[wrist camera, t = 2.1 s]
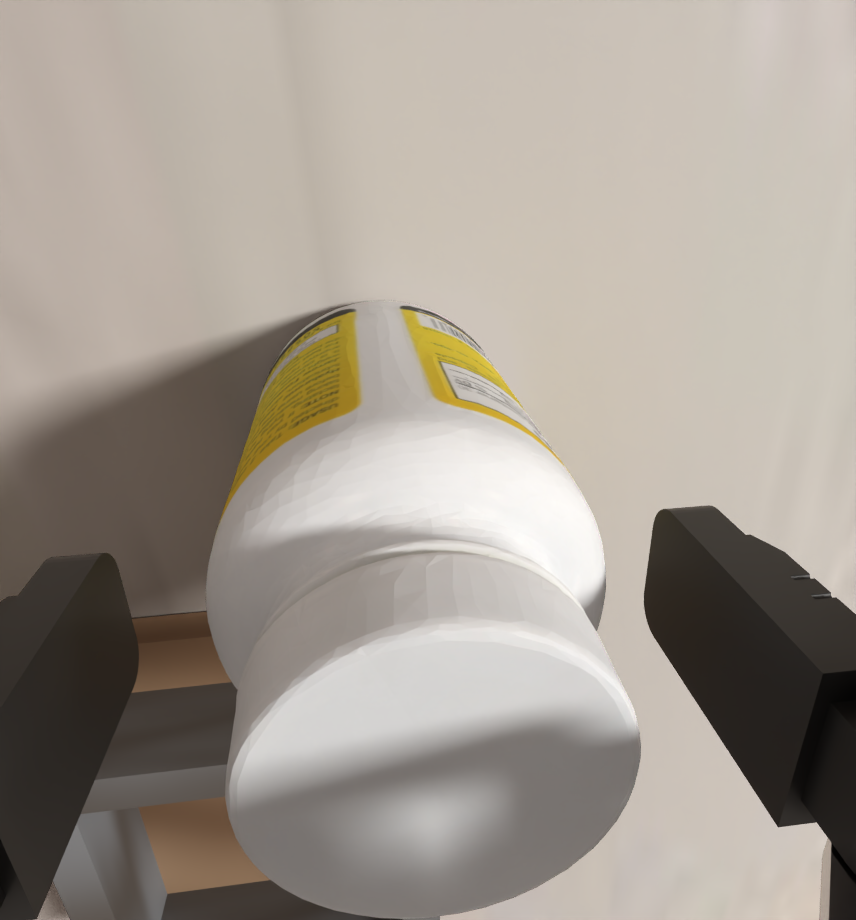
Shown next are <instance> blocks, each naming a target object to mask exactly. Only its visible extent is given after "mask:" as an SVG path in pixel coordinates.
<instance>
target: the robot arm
mask: <svg viewBox="0 0 856 920" xmlns="http://www.w3.org/2000/svg"><path fill="white" fill-rule="evenodd" d="M644 608H645V614H646V619H647V622H648V625H649V628H650V630H651V632H652V634H653V636H654V638H655V639H656V641H657V642H658V644H659V645H660V647H661V648H662V650H663V652H664V653H665V655H666V656H667V658H668V659H669V661H670V662H671V664H672V665H673V667H674V668H675V670H676V671H677V673H678V675H679V676H680V678H681V679H682V681H683V682H684V684H685V685H686V687H687V688H688V690H689V691H690V693H691V694H692V696H693V697H694V699H695V701H696V702H697V704H698V705H699V707H700V708H701V710H702V711H703V713H704V714H705V716H706V717H707V719H708V720H709V722H710V724H711V725H712V727H713V728H714V730H715V731H716V733H717V734H718V736H719V737H720V739H721V740H722V742H723V743H724V745H725V747H726V748H727V750H728V751H729V753H730V754H731V756H732V757H733V759H734V760H735V762H736V763H737V765H738V766H739V768H740V770H741V771H742V773H743V774H744V776H745V777H746V779H747V780H748V782H749V783H750V785H751V786H752V788H753V789H754V791H755V792H756V794H757V796H758V797H759V799H760V800H761V802H762V803H763V805H764V806H765V808H766V809H767V811H768V812H769V814H770V815H771V817H772V819H773V820H774V822H775V823H776V825H777V826H778V827H784V826H791V825H799V824H807V823H815V822H817V823H818V825H819V826H820V827H821V829H822V830H823V832H824V833H825V834H826V836H827V837H828V839H827V842H826V845H825V848H824V851H823V856H822V871H821V893H820V915H819V920H856V614H855V613H853V612H852V611H851V610H850V609H849V608H848V607H847V606H845V605H844V604H843V603H842V602H841V601H840V600H839V599H837V598H832V597H831V592H829V591H828V590H827V589H826V588H825V587H824V586H823V585H822V584H820V583H819V582H818V581H817V580H816V579H810V574H809V573H808V572H807V571H806V570H804V569H803V568H802V567H801V566H800V565H799V564H798V563H796V562H795V561H794V560H793V559H792V558H791V557H790V556H788V555H787V554H786V553H785V552H783V551H781V550H779V549H777V548H776V547H774V546H772V545H770V544H768V543H766V542H764V541H762V540H760V539H758V538H756V537H754V536H752V535H745V534H744V533H743V532H742V531H741V530H740V529H739V528H737V527H736V526H735V525H734V524H733V523H732V522H731V521H730V520H729V519H728V518H727V517H725V516H724V515H723V514H722V513H721V512H720V511H719V510H718V509H716V508H715V507H713V506H697V507H685V508H673V509H663V510H661V511H659V512H658V514H657V515H656V517H655V520H654V525H653V531H652V539H651V546H650V554H649V561H648V568H647V576H646V583H645V591H644ZM138 666H139V647H138V641H137V636H136V633H135V629H134V625H133V622H132V618H131V614H130V610H129V607H128V603H127V599H126V596H125V592H124V588H123V584H122V581H121V577H120V573H119V570H118V567H117V564H116V562H115V560H114V558H113V557H112V556H111V555H110V554H108V553H99V554H86V555H74V556H61V557H52V558H49V559H47V560H46V561H45V562H44V563H43V564H42V565H41V567H40V568H39V569H38V571H37V572H36V573H35V574H34V576H33V577H32V578H31V580H30V581H29V582H28V583H27V585H26V586H25V587H24V589H23V590H22V591H21V592H20V594H19V595H18V596H9V597H7V598H6V599H4V600H3V601H1V602H0V920H33V919H37V917H38V915H39V912H40V910H41V908H42V905H43V903H44V901H45V898H46V896H47V893H48V891H49V889H50V886H51V884H52V881H53V879H54V877H55V874H56V872H57V869H58V867H59V865H60V862H61V860H62V857H63V855H64V853H65V850H66V848H67V845H68V843H69V841H70V838H71V836H72V834H73V831H74V829H75V826H76V824H77V822H78V819H79V817H80V814H81V812H82V810H83V807H84V805H85V802H86V800H87V798H88V795H89V793H90V790H91V788H92V786H93V783H94V781H95V779H96V776H97V774H98V771H99V769H100V767H101V764H102V762H103V759H104V757H105V755H106V752H107V750H108V747H109V745H110V743H111V740H112V738H113V735H114V733H115V731H116V728H117V726H118V723H119V721H120V719H121V716H122V714H123V712H124V709H125V707H126V704H127V702H128V700H129V697H130V695H131V692H132V690H133V688H134V685H135V682H136V678H137V673H138Z"/></svg>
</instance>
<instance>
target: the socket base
mask: <svg viewBox="0 0 856 920" xmlns="http://www.w3.org/2000/svg"><path fill="white" fill-rule="evenodd" d="M132 622H133V625H134V629H135V633H136V636H137V641H138V647H139V666H138V673H137V678H136V682H135V685H134V688H133V690H132V692H131V695H130V697H129V700H128V702H127V704H126V707H125V709H124V712H123V714H122V716H121V719H120V721H119V723H118V726H117V728H116V731H115V733H114V735H113V738H112V740H111V743H110V745H109V747H108V750H107V752H106V755H105V757H104V759H103V762H102V764H101V767H100V769H99V771H98V774H97V776H96V779H95V781H94V783H93V786H92V788H91V790H90V793H89V795H88V798H87V800H86V802H85V805H84V807H83V810H82V812H81V814H80V817H79V819H78V822H77V824H76V826H75V829H74V831H73V834H72V836H71V838H70V841H69V843H68V845H67V848H66V850H65V853H64V855H63V857H62V860H61V862H60V865H59V867H58V869H57V872H56V874H55V877H54V879H53V882H54V885H55V887H56V889H57V891H58V893H59V896H60V898H61V900H62V902H63V904H64V907H65V909H66V911H67V913H68V915H69V918H70V920H440V916H437V917H429V918H410V919H392V918H376V917H369V916H362V915H355V914H350V913H345V912H340V911H335V910H332V909H329V908H326V907H323V906H320V905H317V904H314V903H311V902H309V901H306V900H304V899H301V898H299V897H297V896H296V895H294V894H292V893H290V892H288V891H286V890H285V889H283V888H281V887H280V886H278V885H277V884H276V883H274V882H273V881H272V880H270V879H269V878H268V877H267V876H265V875H264V874H263V873H262V872H261V871H260V870H259V869H258V868H257V867H256V866H255V865H254V864H253V863H252V862H251V860H250V859H249V858H248V856H247V855H246V854H245V852H244V851H243V849H242V847H241V846H240V844H239V842H238V841H237V839H236V837H235V834H234V831H233V828H232V826H231V823H230V820H229V817H228V812H227V806H226V800H225V785H226V772H227V763H228V757H229V752H230V745H231V738H232V731H233V724H234V718H235V712H236V696H237V691H238V690H237V689H236V687H235V686H234V685H233V683H232V681H231V680H230V678H229V676H228V675H227V673H226V671H225V669H224V667H223V665H222V663H221V661H220V658H219V656H218V653H217V650H216V648H215V645H214V642H213V638H212V634H211V631H210V627H209V623H208V617H207V612H197V613H187V614H176V615H166V616H156V617H146V618H135V619H132Z"/></svg>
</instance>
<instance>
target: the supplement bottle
mask: <svg viewBox="0 0 856 920" xmlns="http://www.w3.org/2000/svg"><path fill="white" fill-rule="evenodd" d="M605 590H606V569H605V560H604V552H603V545H602V540H601V536H600V533H599V529H598V526H597V523H596V520H595V518H594V516H593V514H592V512H591V510H590V508H589V506H588V504H587V502H586V500H585V498H584V497H583V495H582V493H581V491H580V489H579V488H578V486H577V484H576V482H575V481H574V479H573V477H572V476H571V474H570V472H569V471H568V470H567V468H566V467H565V466H564V464H563V463H562V462H561V460H560V459H559V457H558V456H557V454H556V453H555V452H554V450H553V449H552V448H551V446H550V445H549V443H548V442H547V441H546V440H545V438H544V437H543V435H542V434H541V432H540V431H539V429H538V428H537V426H536V425H535V424H534V422H533V421H532V420H531V418H530V417H529V415H528V414H527V412H526V411H525V410H524V408H523V407H522V406H521V404H520V403H519V401H518V400H517V398H516V397H515V396H514V394H513V393H512V392H511V390H510V389H509V387H508V386H507V384H506V383H505V381H504V380H503V378H502V377H501V375H500V374H499V373H498V371H497V370H496V369H495V367H494V366H493V364H492V363H491V361H490V360H489V359H488V357H487V356H486V355H485V353H484V352H483V350H482V349H481V348H480V347H479V346H478V344H477V343H476V342H475V341H474V340H473V339H472V338H471V337H470V336H469V335H468V334H467V333H466V332H465V331H463V330H462V329H461V328H460V327H459V326H457V325H456V324H455V323H453V322H452V321H450V320H449V319H447V318H445V317H444V316H442V315H440V314H438V313H436V312H434V311H432V310H430V309H427V308H424V307H421V306H418V305H414V304H410V303H406V302H398V301H384V300H377V301H366V302H360V303H355V304H351V305H348V306H344V307H341V308H338V309H335V310H333V311H331V312H328V313H327V314H325V315H323V316H321V317H319V318H318V319H316V320H314V321H313V322H311V323H310V324H308V325H307V326H306V327H304V328H303V329H302V330H301V331H300V332H298V333H297V334H296V335H295V336H294V337H293V338H292V339H291V340H290V341H289V343H288V344H287V345H286V346H285V347H284V349H283V350H282V352H281V353H280V355H279V356H278V358H277V360H276V361H275V363H274V365H273V367H272V369H271V371H270V373H269V375H268V377H267V380H266V382H265V385H264V387H263V390H262V393H261V397H260V400H259V403H258V406H257V410H256V413H255V417H254V420H253V423H252V426H251V430H250V433H249V436H248V439H247V441H246V444H245V447H244V451H243V454H242V457H241V460H240V462H239V465H238V468H237V471H236V474H235V478H234V481H233V484H232V487H231V490H230V493H229V496H228V498H227V501H226V504H225V506H224V509H223V513H222V516H221V519H220V522H219V525H218V528H217V531H216V534H215V538H214V542H213V547H212V551H211V555H210V559H209V565H208V570H207V580H206V609H207V617H208V623H209V627H210V631H211V634H212V638H213V642H214V645H215V648H216V650H217V653H218V656H219V658H220V661H221V663H222V665H223V667H224V669H225V671H226V673H227V675H228V676H229V678H230V680H231V681H232V683H233V685H234V686H235V687H236V689H237V690H238V691H237V696H236V712H235V718H234V724H233V731H232V738H231V745H230V752H229V757H228V763H227V772H226V785H225V800H226V806H227V812H228V817H229V820H230V823H231V826H232V828H233V831H234V834H235V837H236V839H237V841H238V842H239V844H240V846H241V847H242V849H243V851H244V852H245V854H246V855H247V856H248V858H249V859H250V860H251V862H252V863H253V864H254V865H255V866H256V867H257V868H258V869H259V870H260V871H261V872H262V873H263V874H264V875H265V876H267V877H268V878H269V879H270V880H272V881H273V882H274V883H276V884H277V885H278V886H280V887H281V888H283V889H285V890H286V891H288V892H290V893H292V894H294V895H296V896H297V897H299V898H301V899H304V900H306V901H309V902H311V903H314V904H317V905H320V906H323V907H326V908H329V909H332V910H335V911H340V912H345V913H350V914H355V915H362V916H369V917H376V918H392V919H410V918H429V917H437V916H444V915H451V914H458V913H463V912H467V911H472V910H476V909H480V908H484V907H487V906H490V905H493V904H496V903H499V902H502V901H505V900H508V899H511V898H514V897H516V896H518V895H520V894H523V893H525V892H527V891H529V890H532V889H534V888H536V887H538V886H540V885H541V884H543V883H545V882H546V881H548V880H550V879H552V878H553V877H555V876H557V875H558V874H560V873H562V872H563V871H565V870H567V869H568V868H569V867H571V866H572V865H573V864H574V863H576V862H577V861H578V860H579V859H581V858H582V857H583V856H584V855H586V854H587V853H588V852H589V851H591V850H592V849H593V848H594V847H595V846H596V845H597V844H598V842H599V841H600V840H601V839H602V838H603V837H604V836H605V835H606V834H607V832H608V831H609V830H610V828H611V827H612V826H613V825H614V823H615V822H616V821H617V819H618V818H619V816H620V814H621V813H622V811H623V809H624V807H625V806H626V804H627V802H628V800H629V798H630V795H631V793H632V790H633V787H634V784H635V780H636V776H637V772H638V768H639V762H640V756H641V744H640V732H639V728H638V723H637V718H636V714H635V711H634V708H633V706H632V703H631V701H630V699H629V697H628V695H627V693H626V691H625V689H624V687H623V685H622V683H621V681H620V679H619V677H618V675H617V673H616V671H615V669H614V666H613V664H612V662H611V660H610V658H609V656H608V654H607V652H606V650H605V648H604V646H603V644H602V642H601V639H600V637H599V635H598V633H597V629H598V626H599V622H600V619H601V614H602V609H603V604H604V598H605Z"/></svg>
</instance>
